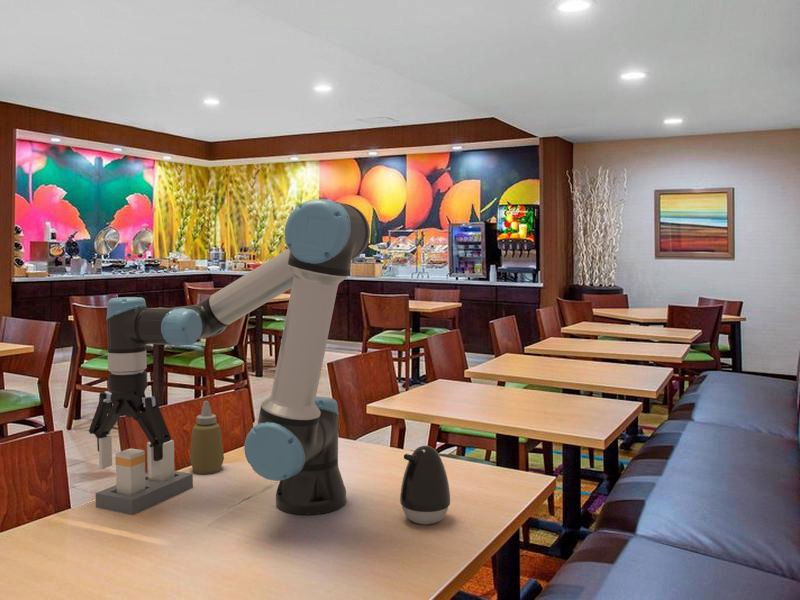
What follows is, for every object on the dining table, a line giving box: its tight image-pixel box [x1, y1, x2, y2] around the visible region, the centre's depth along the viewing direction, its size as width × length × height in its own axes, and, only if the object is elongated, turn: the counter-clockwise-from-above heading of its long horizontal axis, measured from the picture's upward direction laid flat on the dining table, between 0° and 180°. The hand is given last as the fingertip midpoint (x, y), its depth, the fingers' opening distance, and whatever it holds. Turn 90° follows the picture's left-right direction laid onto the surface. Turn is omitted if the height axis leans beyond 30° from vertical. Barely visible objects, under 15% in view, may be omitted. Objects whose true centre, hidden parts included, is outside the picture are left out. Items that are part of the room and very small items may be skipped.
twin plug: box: [146, 439, 175, 482], centre depth 150 cm, size 4×4×14 cm
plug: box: [115, 447, 146, 496], centre depth 142 cm, size 4×4×11 cm
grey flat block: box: [95, 470, 194, 516], centre depth 146 cm, size 10×18×4 cm, turn 157°
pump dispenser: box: [399, 445, 451, 525], centre depth 136 cm, size 10×10×15 cm
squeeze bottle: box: [189, 400, 225, 475], centre depth 164 cm, size 8×8×18 cm
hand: (130, 471), depth 142 cm, fingers open, 13 cm apart
